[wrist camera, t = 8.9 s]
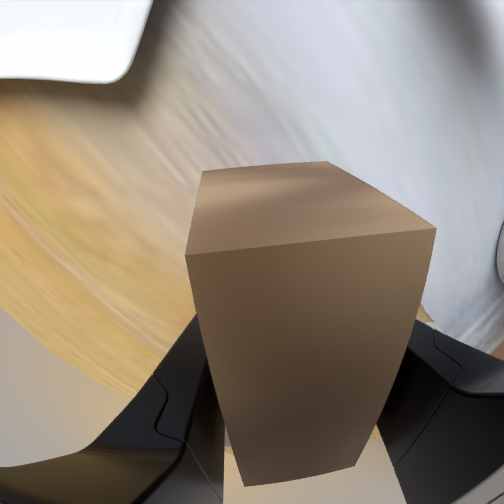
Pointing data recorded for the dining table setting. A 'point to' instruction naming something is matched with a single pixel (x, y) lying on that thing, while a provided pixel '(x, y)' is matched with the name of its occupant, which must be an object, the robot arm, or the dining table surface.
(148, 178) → the dining table surface
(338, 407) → the tall cardboard box
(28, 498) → the robot arm
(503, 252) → the cylinder vase
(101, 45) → the salad plate
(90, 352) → the dining table surface
